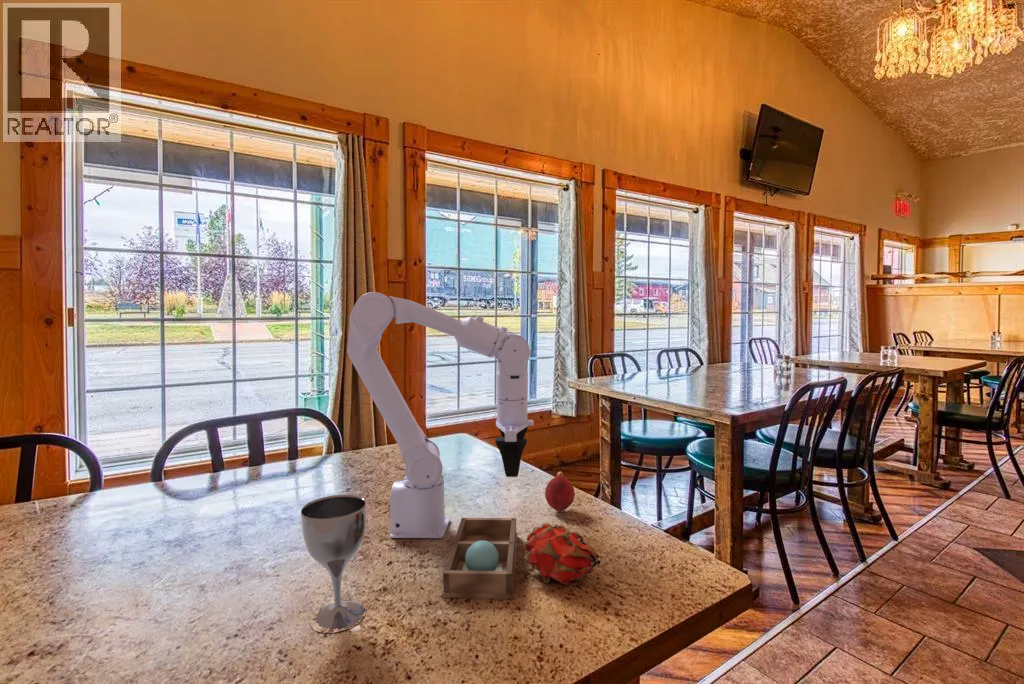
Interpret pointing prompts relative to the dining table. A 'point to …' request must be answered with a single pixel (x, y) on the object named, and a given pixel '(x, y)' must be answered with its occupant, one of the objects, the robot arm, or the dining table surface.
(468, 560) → the ball
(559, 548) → the dragon fruit
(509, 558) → the divided wooden tray
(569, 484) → the onion
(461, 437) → the dining table surface
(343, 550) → the wine glass
